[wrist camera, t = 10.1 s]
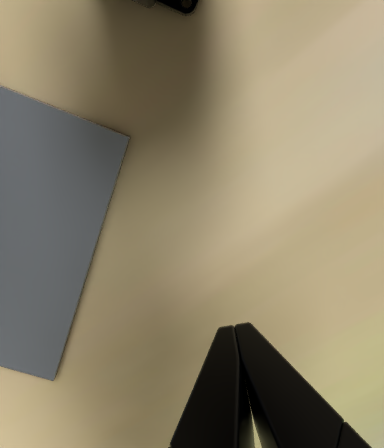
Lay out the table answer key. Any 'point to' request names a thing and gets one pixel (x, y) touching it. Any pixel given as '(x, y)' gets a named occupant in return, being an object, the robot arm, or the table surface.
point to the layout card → (48, 223)
